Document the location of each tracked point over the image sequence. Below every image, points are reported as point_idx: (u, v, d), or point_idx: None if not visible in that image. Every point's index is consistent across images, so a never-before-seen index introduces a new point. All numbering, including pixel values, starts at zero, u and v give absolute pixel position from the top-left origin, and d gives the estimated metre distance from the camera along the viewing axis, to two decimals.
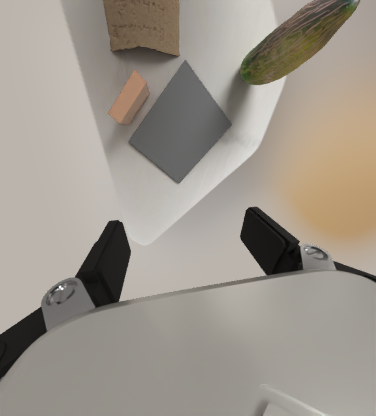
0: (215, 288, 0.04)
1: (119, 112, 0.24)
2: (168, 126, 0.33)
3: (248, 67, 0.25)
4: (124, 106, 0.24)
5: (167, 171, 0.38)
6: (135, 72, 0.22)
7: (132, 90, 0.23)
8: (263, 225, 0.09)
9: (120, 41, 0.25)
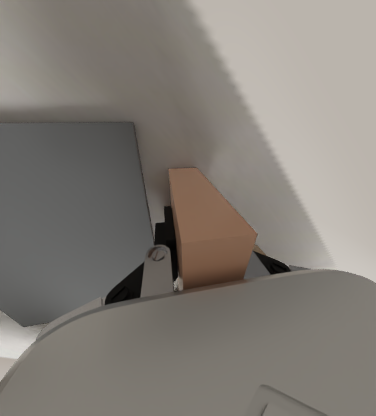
0: (215, 288, 0.04)
1: (210, 272, 0.05)
2: (94, 243, 0.12)
3: None
4: None
5: None
6: None
7: None
8: None
9: None
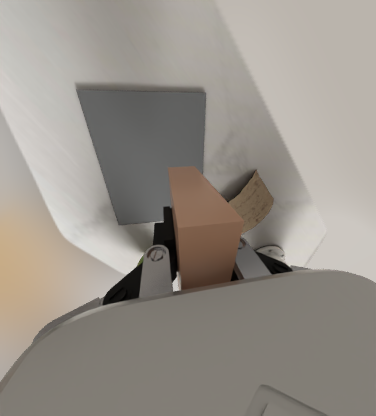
0: (215, 288, 0.04)
1: (204, 256, 0.05)
2: (174, 162, 0.22)
3: None
4: (199, 279, 0.06)
5: (118, 96, 0.17)
6: None
7: None
8: None
9: (252, 182, 0.26)
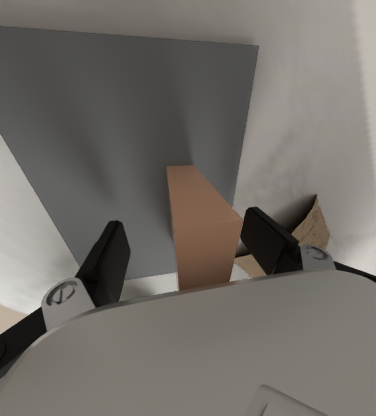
0: (215, 288, 0.04)
1: (201, 257, 0.05)
2: None
3: None
4: (197, 280, 0.06)
5: (53, 45, 0.07)
6: None
7: None
8: (263, 225, 0.09)
9: (311, 216, 0.16)
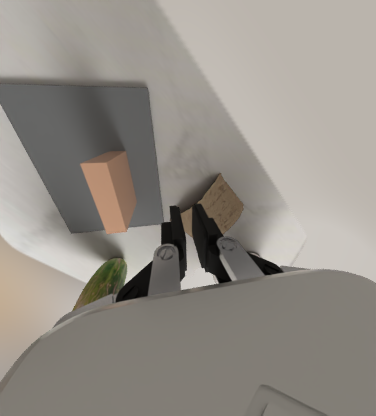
0: (215, 288, 0.04)
1: (96, 178, 0.13)
2: None
3: (110, 278, 0.23)
4: (99, 191, 0.14)
5: (42, 91, 0.15)
6: (123, 230, 0.16)
7: (109, 215, 0.15)
8: (198, 220, 0.09)
9: (216, 187, 0.24)
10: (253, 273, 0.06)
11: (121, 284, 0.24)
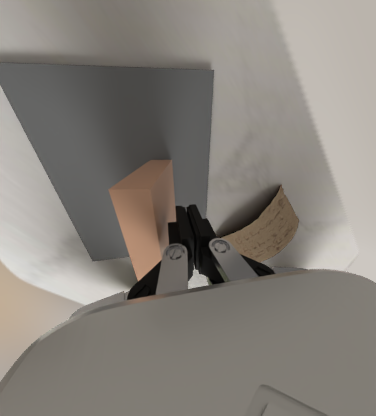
0: (215, 288, 0.04)
1: (131, 213, 0.08)
2: None
3: None
4: (133, 231, 0.09)
5: (66, 74, 0.10)
6: None
7: (145, 262, 0.10)
8: (191, 221, 0.09)
9: (276, 202, 0.19)
10: (244, 276, 0.06)
11: None
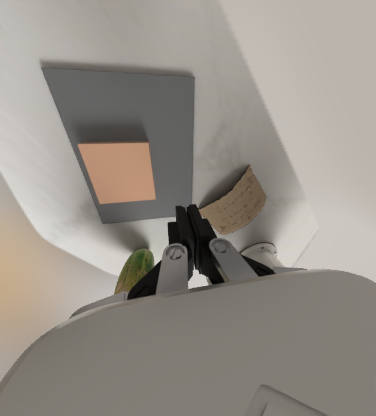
0: (215, 288, 0.04)
1: None
2: (160, 155, 0.21)
3: (145, 267, 0.23)
4: None
5: (92, 77, 0.15)
6: None
7: None
8: (191, 221, 0.09)
9: (245, 178, 0.25)
10: (244, 276, 0.06)
11: None
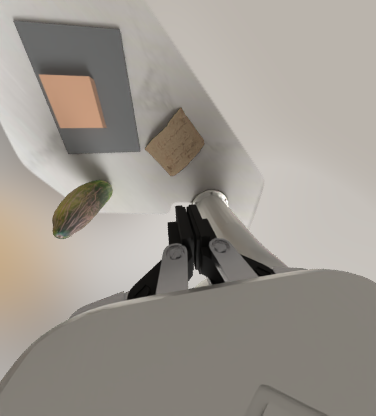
0: (215, 288, 0.04)
1: None
2: (105, 93, 0.28)
3: (97, 183, 0.30)
4: None
5: (47, 28, 0.23)
6: None
7: None
8: (191, 221, 0.09)
9: (178, 118, 0.32)
10: (244, 276, 0.06)
11: (106, 191, 0.32)
